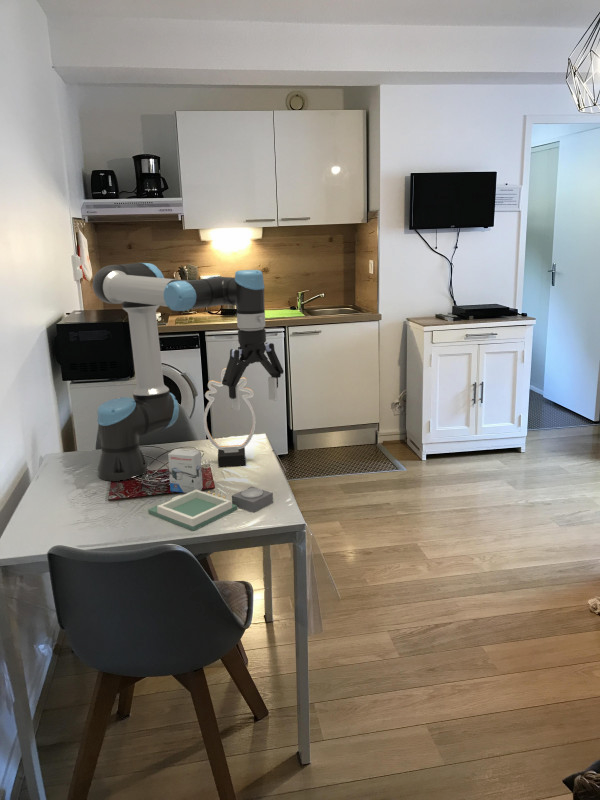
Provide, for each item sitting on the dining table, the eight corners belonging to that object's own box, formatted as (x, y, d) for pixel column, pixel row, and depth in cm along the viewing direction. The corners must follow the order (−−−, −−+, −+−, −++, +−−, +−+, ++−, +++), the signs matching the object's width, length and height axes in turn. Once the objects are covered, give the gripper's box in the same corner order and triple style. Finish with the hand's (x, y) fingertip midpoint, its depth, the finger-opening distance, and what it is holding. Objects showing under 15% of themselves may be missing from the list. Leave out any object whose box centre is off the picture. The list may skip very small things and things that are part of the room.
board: (148, 513, 175) (147, 502, 174) (193, 494, 187) (192, 484, 186) (193, 530, 164) (192, 519, 163) (237, 509, 176) (236, 498, 175)
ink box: (169, 491, 190) (166, 454, 187) (177, 485, 194) (174, 448, 192) (196, 494, 187) (193, 456, 184) (203, 487, 192) (201, 450, 189)
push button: (232, 505, 179) (231, 493, 178) (252, 496, 185) (251, 484, 184) (253, 512, 174) (252, 500, 173) (273, 502, 180) (272, 490, 179)
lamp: (257, 456, 218) (252, 363, 210) (258, 465, 209) (253, 369, 201) (206, 459, 216) (200, 366, 208) (205, 468, 208) (199, 372, 200)
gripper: (223, 335, 163) (228, 416, 169) (294, 324, 180) (296, 398, 185) (205, 333, 168) (210, 411, 174) (276, 322, 185) (278, 393, 191)
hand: (255, 404), depth 180 cm, fingers open, 13 cm apart
